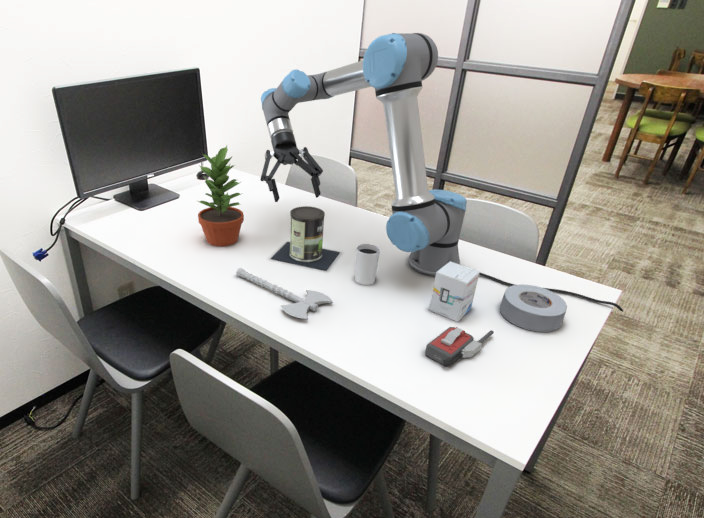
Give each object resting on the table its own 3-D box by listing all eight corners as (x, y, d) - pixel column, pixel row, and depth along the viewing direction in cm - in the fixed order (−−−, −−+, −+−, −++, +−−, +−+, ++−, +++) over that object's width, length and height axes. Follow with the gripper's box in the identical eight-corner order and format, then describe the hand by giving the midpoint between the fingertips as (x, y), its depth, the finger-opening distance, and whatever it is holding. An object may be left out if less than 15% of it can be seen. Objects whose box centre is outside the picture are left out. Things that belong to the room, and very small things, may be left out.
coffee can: (324, 249, 159) (327, 208, 151) (318, 264, 150) (321, 220, 143) (293, 245, 160) (294, 204, 153) (285, 260, 152) (286, 216, 144)
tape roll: (570, 316, 131) (577, 300, 128) (546, 339, 122) (552, 322, 119) (515, 294, 140) (520, 278, 137) (488, 313, 131) (493, 297, 128)
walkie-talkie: (453, 374, 109) (495, 337, 121) (457, 359, 107) (499, 323, 119) (419, 356, 114) (462, 323, 127) (422, 341, 112) (466, 308, 124)
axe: (221, 284, 139) (220, 276, 138) (255, 267, 148) (255, 259, 147) (303, 325, 123) (303, 317, 122) (336, 303, 132) (337, 296, 131)
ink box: (442, 297, 137) (450, 260, 131) (471, 309, 132) (481, 270, 126) (427, 310, 131) (435, 271, 125) (457, 322, 127) (467, 283, 120)
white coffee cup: (379, 278, 145) (384, 247, 140) (370, 288, 140) (374, 256, 135) (359, 272, 148) (362, 241, 142) (349, 281, 143) (352, 250, 137)
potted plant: (191, 246, 158) (182, 152, 142) (210, 228, 171) (204, 139, 155) (235, 253, 155) (231, 157, 140) (251, 234, 168) (249, 144, 152)
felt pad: (339, 253, 158) (339, 252, 158) (326, 270, 148) (326, 269, 147) (287, 242, 163) (287, 241, 163) (271, 259, 153) (271, 257, 153)
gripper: (314, 140, 165) (330, 199, 161) (242, 145, 157) (257, 207, 153) (321, 127, 158) (338, 188, 154) (246, 132, 150) (262, 196, 146)
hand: (298, 198), depth 154 cm, fingers open, 13 cm apart
